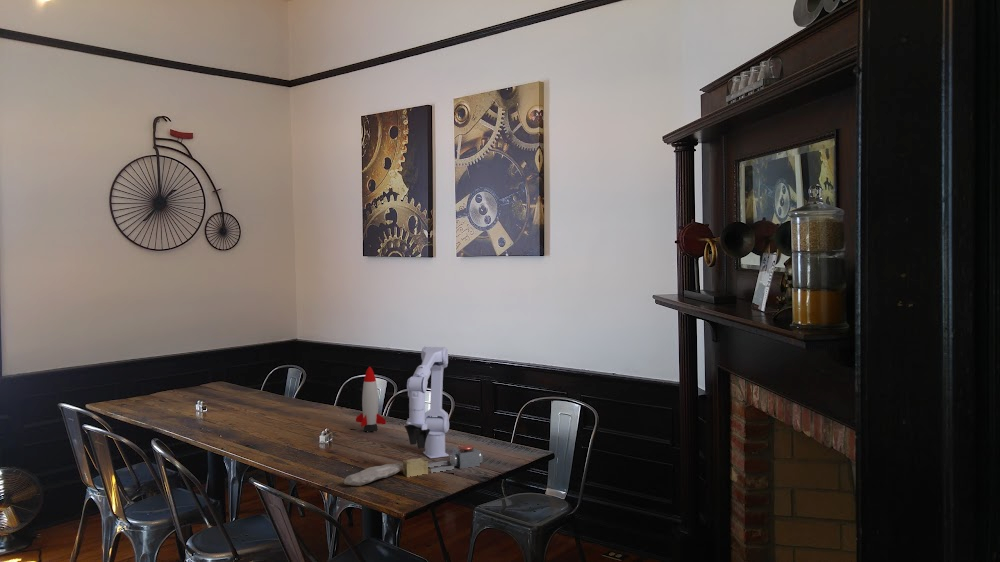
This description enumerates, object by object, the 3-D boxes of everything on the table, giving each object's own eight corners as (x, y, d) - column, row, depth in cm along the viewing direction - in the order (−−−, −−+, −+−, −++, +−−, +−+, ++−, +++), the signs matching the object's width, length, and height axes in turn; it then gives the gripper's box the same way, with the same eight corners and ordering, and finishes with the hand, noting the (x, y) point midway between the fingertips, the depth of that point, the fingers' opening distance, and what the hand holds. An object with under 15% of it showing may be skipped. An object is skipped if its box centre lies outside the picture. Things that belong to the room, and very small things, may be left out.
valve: (424, 467, 265) (424, 448, 265) (476, 460, 274) (476, 441, 273) (431, 473, 257) (431, 453, 257) (484, 465, 266) (484, 446, 266)
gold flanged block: (403, 473, 258) (403, 460, 258) (423, 470, 261) (423, 457, 261) (407, 477, 253) (406, 463, 253) (428, 474, 256) (427, 460, 256)
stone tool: (336, 471, 246) (392, 455, 264) (337, 485, 246) (393, 468, 264) (356, 478, 238) (412, 461, 256) (356, 492, 238) (412, 474, 256)
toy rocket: (354, 430, 326) (361, 366, 331) (378, 432, 330) (384, 368, 336) (360, 432, 315) (367, 366, 321) (384, 433, 320) (390, 368, 325)
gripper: (399, 407, 261) (399, 443, 260) (414, 413, 248) (414, 451, 248) (417, 405, 264) (417, 441, 264) (432, 411, 251) (432, 449, 251)
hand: (417, 446), depth 256 cm, fingers open, 7 cm apart
